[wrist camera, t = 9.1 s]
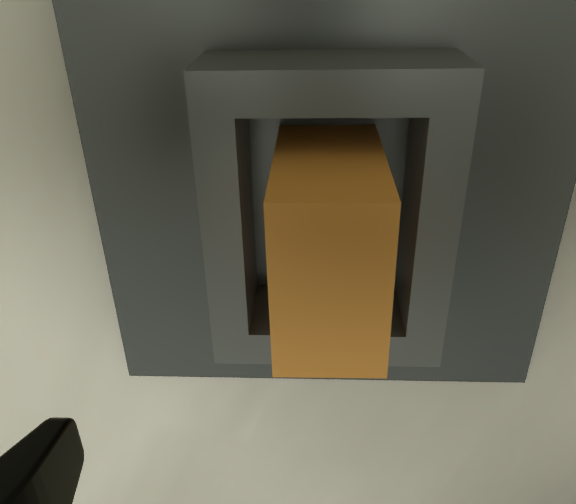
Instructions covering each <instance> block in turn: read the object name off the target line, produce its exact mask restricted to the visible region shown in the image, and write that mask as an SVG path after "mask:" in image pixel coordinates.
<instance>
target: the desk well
mask: <svg viewBox="0 0 576 504" xmlns="http://www.w3.org/2000/svg"><path fill="white" fill-rule="evenodd" d="M52 2H53V7H54V12H55V17H56V22H57V26H58V31H59V36H60V41H61V46H62V51H63V55H64V60H65V65H66V70H67V75H68V80H69V85H70V89H71V94H72V99H73V104H74V109H75V114H76V118H77V123H78V128H79V133H80V138H81V143H82V148H83V152H84V157H85V162H86V167H87V172H88V177H89V182H90V186H91V191H92V196H93V201H94V206H95V211H96V215H97V220H98V225H99V230H100V235H101V240H102V245H103V249H104V254H105V259H106V264H107V269H108V274H109V278H110V283H111V288H112V293H113V298H114V303H115V308H116V312H117V317H118V322H119V327H120V332H121V337H122V342H123V346H124V351H125V356H126V361H127V366H128V371H129V375H130V376H183V377H240V378H295V377H272V359H271V339H270V320H269V301H268V282H267V263H266V244H265V225H264V205H263V203H264V198H265V194H266V189H267V184H268V179H269V174H270V169H271V164H272V160H273V155H274V150H275V145H276V140H277V135H278V130H279V126H283V125H361V124H375V125H376V128H377V131H378V134H379V137H380V140H381V143H382V146H383V149H384V152H385V155H386V158H387V161H388V164H389V167H390V170H391V173H392V177H393V180H394V183H395V186H396V189H397V192H398V195H399V198H400V201H401V211H400V223H399V236H398V248H397V261H396V273H395V286H394V298H393V311H392V323H391V336H390V348H389V360H388V373H387V379H384V378H297V379H353V380H410V381H467V382H523V383H525V380H526V376H527V372H528V368H529V364H530V360H531V356H532V352H533V348H534V344H535V340H536V336H537V332H538V328H539V324H540V320H541V316H542V312H543V309H544V305H545V301H546V297H547V293H548V289H549V285H550V281H551V277H552V273H553V269H554V265H555V261H556V257H557V253H558V249H559V245H560V241H561V237H562V233H563V229H564V225H565V221H566V217H567V213H568V209H569V205H570V201H571V197H572V193H573V189H574V185H575V182H576V0H52Z"/></svg>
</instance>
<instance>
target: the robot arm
mask: <svg viewBox="0 0 576 504" xmlns="http://www.w3.org/2000/svg"><path fill="white" fill-rule="evenodd" d="M83 461H84V450H83V446H82V443H81V439H80V436H79V432H78V429H77V425H76V423H75V421H74V420H73V419H72V418H49V419H47V420H45V421H44V422H43V423H41V424H40V425H39V426H38V427H36V428H35V429H34V430H33V431H32V432H30V433H29V434H28V435H27V436H25V437H24V438H23V439H22V440H20V441H19V442H18V443H17V444H15V445H14V446H13V447H12V448H10V449H9V450H8V451H7V452H6V453H4V454H3V455H2V456H1V457H0V504H72V502H73V499H74V495H75V492H76V488H77V484H78V481H79V477H80V473H81V470H82V466H83Z"/></svg>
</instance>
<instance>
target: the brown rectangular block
mask: <svg viewBox="0 0 576 504" xmlns="http://www.w3.org/2000/svg"><path fill="white" fill-rule="evenodd" d="M263 205H264V225H265V244H266V263H267V282H268V301H269V320H270V339H271V359H272V377H295V378H384V379H387V373H388V360H389V348H390V336H391V323H392V311H393V298H394V286H395V273H396V261H397V248H398V236H399V223H400V211H401V201H400V198H399V195H398V192H397V189H396V186H395V183H394V180H393V177H392V173H391V170H390V167H389V164H388V161H387V158H386V155H385V152H384V149H383V146H382V143H381V140H380V137H379V134H378V131H377V128H376V125H375V124H361V125H283V126H279V130H278V135H277V140H276V145H275V150H274V155H273V160H272V164H271V169H270V174H269V179H268V184H267V189H266V194H265V198H264V203H263Z"/></svg>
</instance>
